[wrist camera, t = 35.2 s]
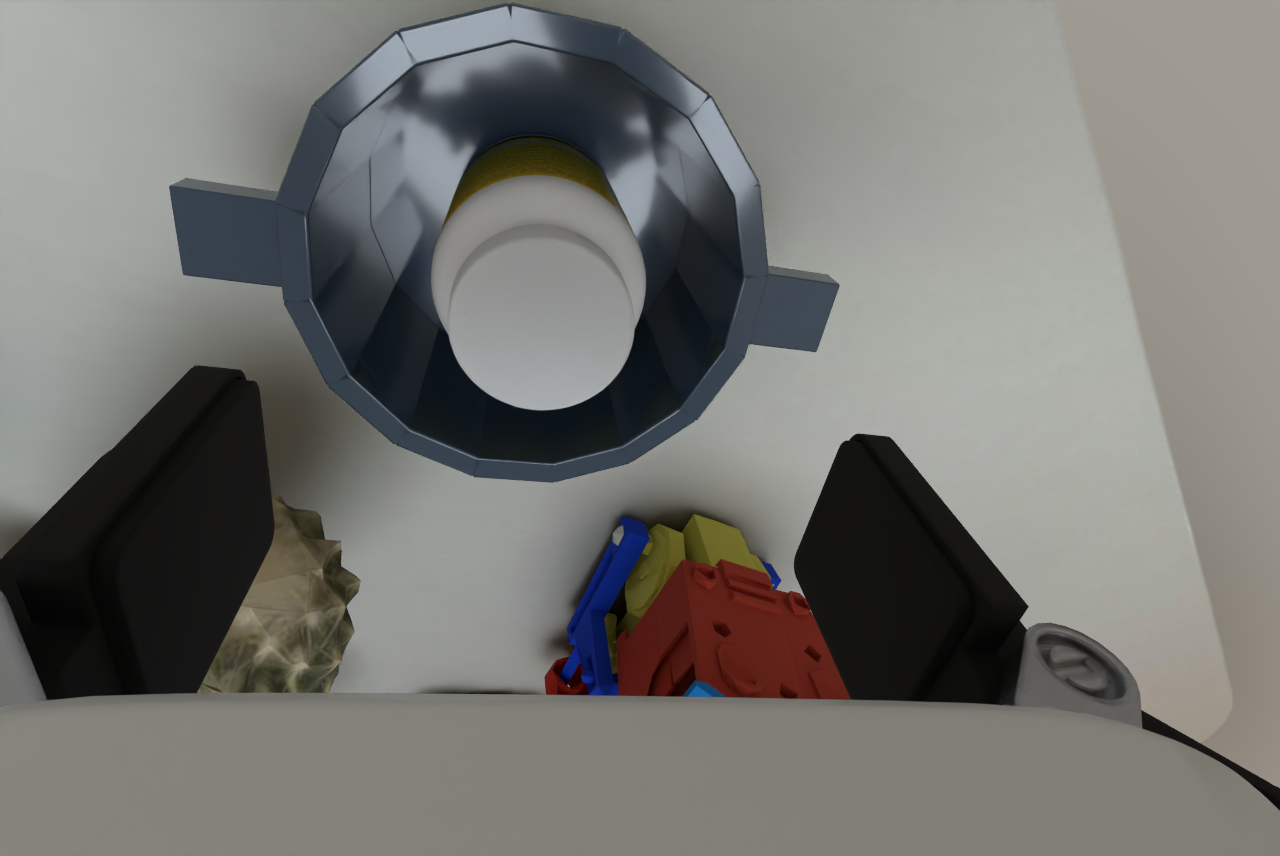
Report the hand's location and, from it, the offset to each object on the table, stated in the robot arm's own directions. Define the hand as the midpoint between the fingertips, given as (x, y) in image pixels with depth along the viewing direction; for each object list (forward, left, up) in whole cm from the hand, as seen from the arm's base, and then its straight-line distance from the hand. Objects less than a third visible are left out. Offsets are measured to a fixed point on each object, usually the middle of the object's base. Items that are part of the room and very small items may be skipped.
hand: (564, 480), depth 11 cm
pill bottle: (0, 0, -18) cm, 18 cm away
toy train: (+21, +9, -18) cm, 29 cm away
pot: (0, 0, -18) cm, 18 cm away
